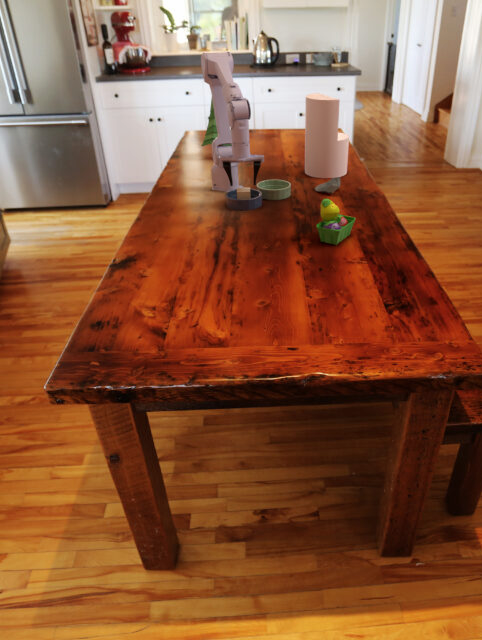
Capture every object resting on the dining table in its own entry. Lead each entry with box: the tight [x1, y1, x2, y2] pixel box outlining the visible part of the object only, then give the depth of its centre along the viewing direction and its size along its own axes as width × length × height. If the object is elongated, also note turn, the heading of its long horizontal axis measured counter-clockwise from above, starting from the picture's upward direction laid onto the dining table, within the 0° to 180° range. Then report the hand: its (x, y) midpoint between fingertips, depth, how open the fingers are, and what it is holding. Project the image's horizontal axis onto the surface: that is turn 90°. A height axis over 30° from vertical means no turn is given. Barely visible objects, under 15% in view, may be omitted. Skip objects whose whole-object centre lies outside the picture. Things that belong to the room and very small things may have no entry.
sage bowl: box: [256, 179, 292, 201], centre depth 174 cm, size 12×12×4 cm
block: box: [237, 186, 251, 200], centre depth 165 cm, size 4×4×5 cm
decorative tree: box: [201, 98, 232, 147], centre depth 210 cm, size 14×16×30 cm
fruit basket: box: [316, 198, 356, 246], centre depth 140 cm, size 11×9×11 cm
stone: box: [314, 177, 341, 195], centre depth 177 cm, size 11×4×10 cm
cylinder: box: [304, 92, 350, 179], centre depth 191 cm, size 17×17×28 cm
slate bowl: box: [225, 188, 263, 211], centre depth 166 cm, size 12×12×4 cm
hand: (243, 184), depth 163 cm, fingers open, 7 cm apart
